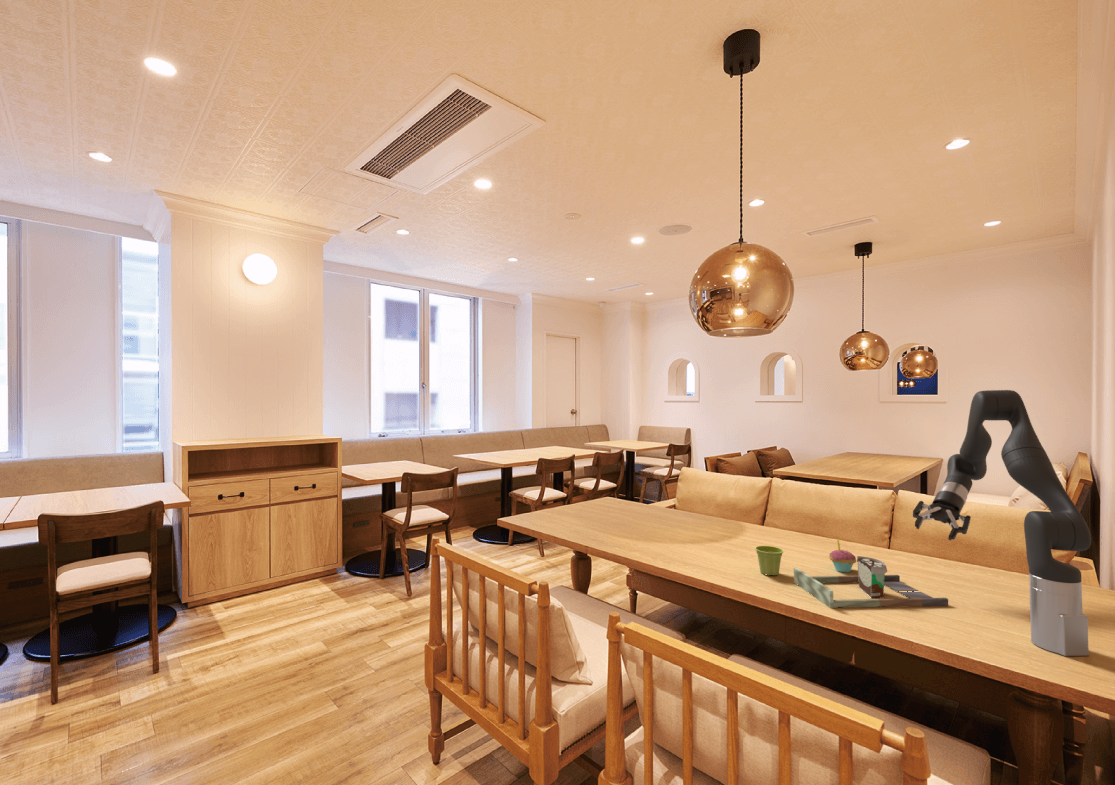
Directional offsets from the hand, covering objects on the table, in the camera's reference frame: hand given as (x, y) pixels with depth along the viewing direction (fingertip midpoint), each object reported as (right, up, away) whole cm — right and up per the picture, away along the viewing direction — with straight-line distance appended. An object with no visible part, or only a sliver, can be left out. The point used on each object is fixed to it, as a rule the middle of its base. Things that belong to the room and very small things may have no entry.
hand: (933, 532), depth 156 cm
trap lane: (-21, -20, +1) cm, 29 cm away
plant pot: (-43, -21, +20) cm, 52 cm away
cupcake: (-15, -20, +23) cm, 34 cm away
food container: (-18, -20, +1) cm, 27 cm away
